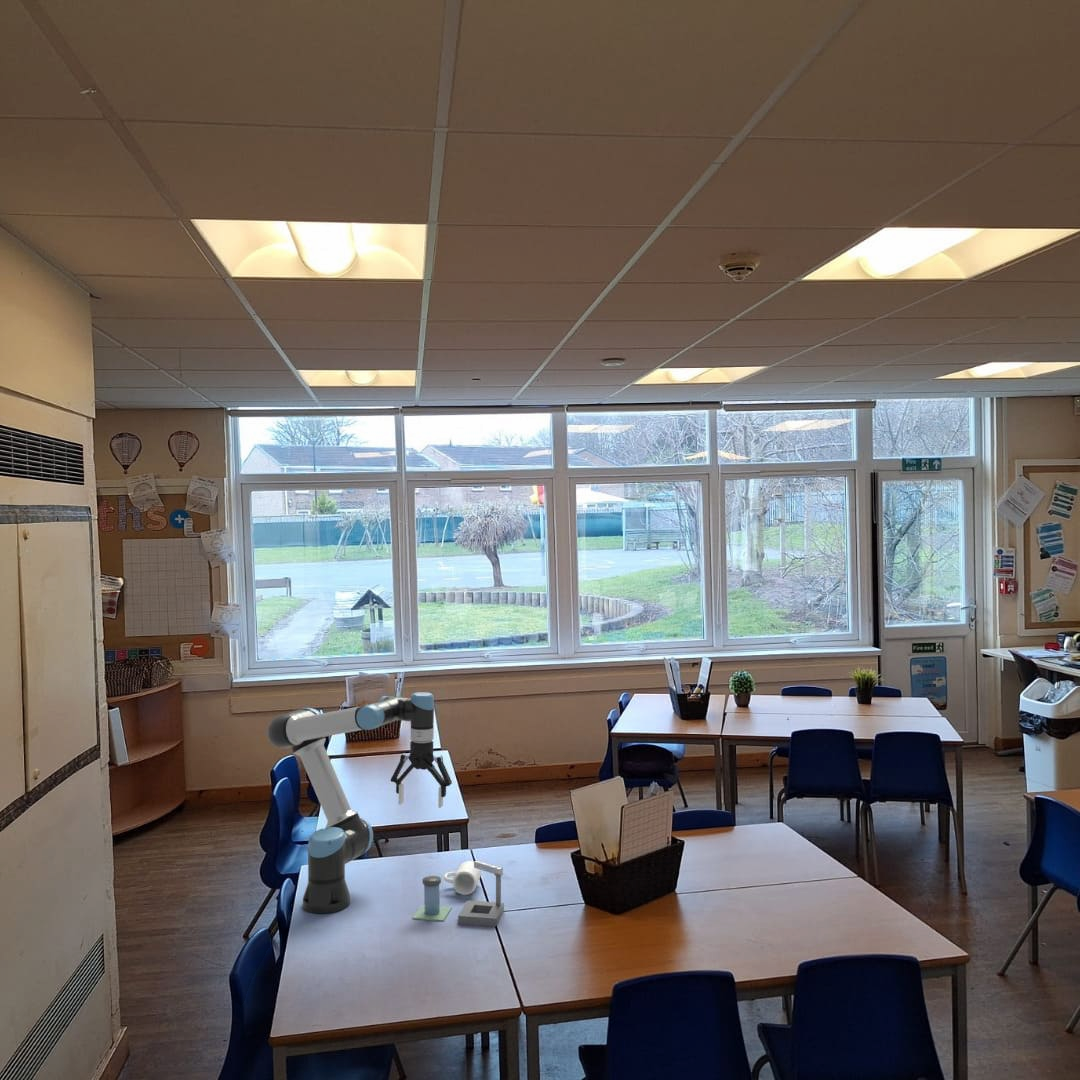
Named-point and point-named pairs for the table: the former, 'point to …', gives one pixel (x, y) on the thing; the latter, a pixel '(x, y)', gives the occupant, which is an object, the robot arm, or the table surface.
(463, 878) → the mug
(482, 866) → the lever
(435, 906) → the plug
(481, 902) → the socket
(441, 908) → the mat
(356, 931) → the table surface
